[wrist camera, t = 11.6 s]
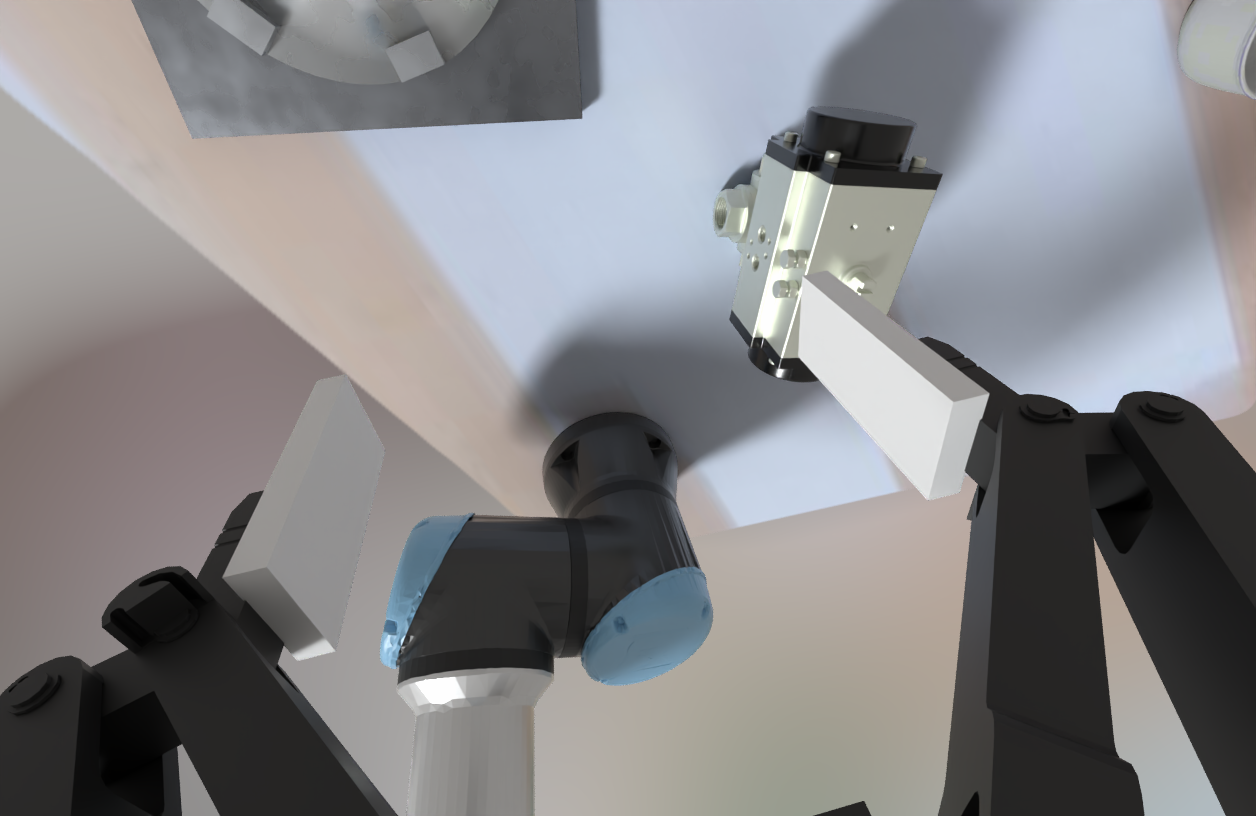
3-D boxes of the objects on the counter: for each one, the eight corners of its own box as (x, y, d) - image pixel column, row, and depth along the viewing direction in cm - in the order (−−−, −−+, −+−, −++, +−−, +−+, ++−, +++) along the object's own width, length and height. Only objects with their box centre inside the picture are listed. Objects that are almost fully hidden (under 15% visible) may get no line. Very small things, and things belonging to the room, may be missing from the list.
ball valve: (729, 85, 43) (842, 129, 29) (828, 94, 45) (980, 139, 31) (692, 300, 54) (762, 409, 40) (774, 301, 55) (869, 405, 41)
